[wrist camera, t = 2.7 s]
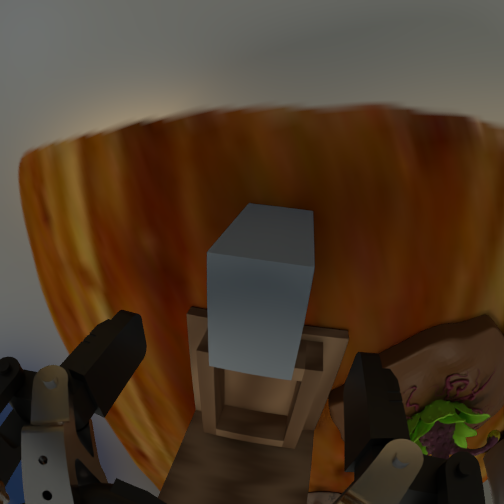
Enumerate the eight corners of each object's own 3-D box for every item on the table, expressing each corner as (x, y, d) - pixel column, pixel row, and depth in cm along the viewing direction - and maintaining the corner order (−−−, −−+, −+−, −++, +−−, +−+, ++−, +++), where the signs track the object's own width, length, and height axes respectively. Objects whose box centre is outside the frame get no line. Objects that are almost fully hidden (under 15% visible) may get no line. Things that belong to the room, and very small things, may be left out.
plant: (491, 272, 17) (568, 364, 7) (515, 387, 20) (544, 455, 10) (293, 391, 24) (277, 500, 14) (378, 460, 28) (380, 532, 18)
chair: (347, 330, 20) (347, 606, 3) (310, 432, 26) (286, 594, 9) (191, 306, 22) (52, 530, 5) (199, 412, 28) (137, 561, 11)
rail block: (313, 211, 18) (314, 267, 10) (298, 304, 20) (288, 390, 13) (248, 203, 18) (207, 252, 11) (243, 296, 21) (209, 376, 14)
